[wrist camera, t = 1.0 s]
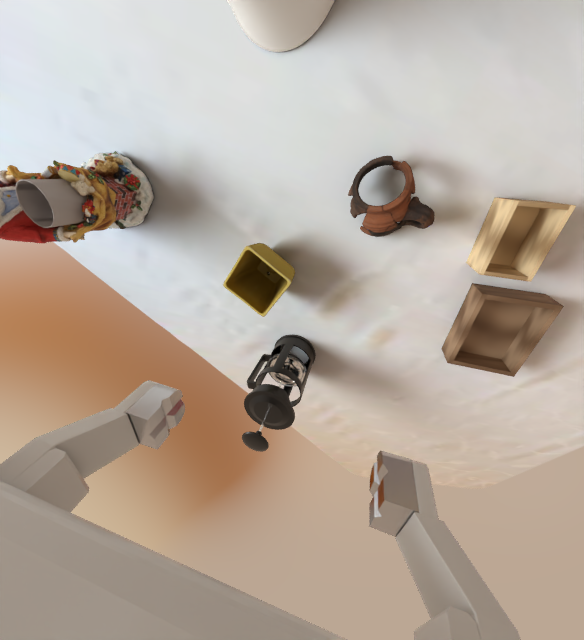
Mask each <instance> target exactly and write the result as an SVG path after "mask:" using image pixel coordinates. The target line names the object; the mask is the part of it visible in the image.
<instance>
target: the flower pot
mask: <svg viewBox="0 0 584 640" xmlns="http://www.w3.org/2000/svg"><path fill="white" fill-rule="evenodd" d="M267 272H269V273H270V274H269V275H268V274H267ZM294 274H295V270H294V268H293V267H292V266H291V265H290V264H289V263H287V262H286V261H285V260H284V259H283V258H281V257H280V256H279V255H278V254H276V253H275V252H274V251H273V250H272V249H271V248H269V247H268V246H267V245H265V244H262V243H258V244H254V245H249V246H246V247H245V248H244V250H243V252H242V253H241V255H240V257H239V258H238V260H237V262H236V264H235V265H234V267H233V268H232V270H231V272H230V273H229V275H228V276H227V278H226V280H225V281H224V284H223V286H224V287H225V288H226V289H228V290H229V291H230V292H231V293H233V294H234V295H236V296H237V297H238V298H240V299H241V300H242V301H243V302H245V303H246V304H247V305H248V306H250V307H251V308H252V309H253V310H254V311H256V312H257V313H258V314H260V315H261V316H263V317H264V316H265V315H266V314H267V313H268V311H269V310H270V309H271V308H272V306H273V305H274V304H275V303H276V302H277V300H278V299H279V298H280V297H281V295H282V294H283V293H284V292H285V291H286V289H287V288H288V287H289V286H290V285H291V282H292V280H293V277H294Z"/></svg>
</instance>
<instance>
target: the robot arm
mask: <svg viewBox="0 0 584 640" xmlns="http://www.w3.org/2000/svg"><path fill="white" fill-rule="evenodd" d="M334 1H335V0H227V2H228V3H229V5H230V7H231V9H232V11H233V13H234V16H235V18H236V20H237V22H238V24H239V25H240V27H241V29H242V30H243V32H244V33H245V34H246V35H247V37H248V38H249V39H250V40H251V41H252V42H254V43H255V44H256V45H258V46H259V47H261V48H263V49H265V50H268V51H273V52H283V51H288V50H291V49H294V48H296V47H298V46H300V45H301V44H303V43H304V42H305V41H307V40H308V39H309V38H310V37H311V36H312V35H313V34H314V33H315V32H316V31H317V29H318V28H319V27H320V26H321V24H322V23H323V21H324V20H325V18H326V16H327V15H328V13H329V11H330V9H331V7H332V5H333V3H334ZM182 397H183V395H182V392H181V390H177V389H174V388H171V387H168V386H164V385H162V384H159V383H156V382H152V381H149V380H148V381H146V382H144V383H143V384H141V385H140V386H139V387H138V388H137V389H136V390H135V391H133V392H132V393H131V394H130V395H129V396H128V397H127V398H126V399H124V400H123V401H122V402H121V403H120V404H119V405H117V406H116V407H115V408H114V409H111V408H109V409H107V410H104V411H102V412H99V413H97V414H94V415H92V416H89V417H87V418H84V419H82V420H79V421H77V422H74V423H72V424H69V425H67V426H64V427H62V428H59V429H57V430H54V431H52V432H49V433H47V434H44V435H41V436H39V437H36V438H34V439H33V440H32V441H31V442H29V443H28V444H26V445H25V446H24V447H23V448H21V449H20V450H19V451H17V452H16V453H15V454H14V455H12V456H11V457H9V458H8V459H7V460H6V461H4V462H3V463H2V464H0V640H347V639H345V638H342V637H340V636H338V635H336V634H334V633H332V632H329V631H327V630H325V629H323V628H321V627H319V626H316V625H314V624H312V623H310V622H308V621H305V620H303V619H301V618H299V617H297V616H294V615H292V614H290V613H288V612H286V611H284V610H281V609H279V608H277V607H275V606H273V605H271V604H268V603H266V602H264V601H262V600H260V599H258V598H255V597H253V596H251V595H249V594H246V593H244V592H242V591H240V590H238V589H236V588H234V587H231V586H229V585H227V584H225V583H223V582H220V581H218V580H216V579H214V578H212V577H209V576H207V575H205V574H203V573H201V572H198V571H196V570H194V569H192V568H190V567H188V566H185V565H183V564H181V563H179V562H177V561H175V560H172V559H170V558H168V557H166V556H164V555H162V554H159V553H157V552H155V551H153V550H151V549H148V548H146V547H144V546H142V545H140V544H138V543H135V542H133V541H131V540H129V539H127V538H124V537H122V536H120V535H118V534H116V533H113V532H111V531H109V530H107V529H105V528H103V527H101V526H98V525H96V524H94V523H92V522H90V521H87V520H85V519H83V518H81V517H79V516H77V515H74V514H72V513H70V512H71V511H72V510H73V509H74V508H75V507H76V506H77V504H78V503H79V502H80V501H81V500H82V499H83V498H84V497H85V496H86V494H87V493H88V492H89V487H88V485H87V484H86V482H85V481H84V478H86V477H87V476H89V475H90V474H92V473H94V472H95V471H97V470H99V469H100V468H102V467H104V466H105V465H107V464H109V463H110V462H112V461H113V460H115V459H117V458H118V457H120V456H122V455H123V454H125V453H126V452H128V451H130V450H132V449H133V448H135V447H136V446H138V445H139V444H142V445H146V446H148V447H151V448H155V449H158V448H159V447H160V446H161V445H162V443H163V442H164V441H165V440H166V438H167V437H168V436H169V432H170V429H171V428H173V427H175V426H177V425H178V423H179V422H180V421H181V419H182V417H183V415H184V412H185V405H184V403H183V402H182V400H181V398H182ZM370 492H371V494H372V496H373V498H372V500H371V502H370V527H372V528H374V529H377V530H380V531H382V532H385V533H387V534H390V535H392V536H395V537H396V538H395V539H396V541H397V543H398V545H399V548H400V550H401V552H402V554H403V557H404V559H405V561H406V563H407V566H408V568H409V570H410V572H411V575H412V576H413V579H414V581H415V584H416V586H417V588H418V591H419V593H420V595H421V597H422V599H423V602H424V604H425V606H426V609H427V611H428V613H429V615H430V618H431V620H429V621H428V622H426V623H425V624H423V625H421V626H420V627H418V628H417V629H416V630H415V632H414V640H520V637H519V634H518V631H517V629H516V628H515V627H514V625H513V624H512V622H511V621H510V619H509V618H508V616H507V615H506V613H505V612H504V610H503V609H502V607H501V606H500V605H499V603H498V601H497V600H496V599H495V597H494V596H493V594H492V592H491V591H490V590H489V588H488V587H487V585H486V584H485V582H484V581H483V580H482V578H481V576H480V575H479V573H478V572H477V570H476V569H475V567H474V566H473V564H472V563H471V561H470V560H469V558H468V557H467V555H466V554H465V552H464V551H463V549H462V548H461V547H460V545H459V543H458V542H457V541H456V539H455V538H454V536H453V535H452V533H451V532H450V530H449V529H448V527H447V526H446V524H445V523H444V522H443V521H441V520H439V519H438V514H437V509H436V504H435V499H434V494H433V489H432V484H431V479H430V474H429V469H428V467H427V465H426V464H424V463H421V462H417V461H413V460H410V459H408V458H405V457H401V456H398V455H394V454H391V453H387V452H384V451H380V452H379V453H378V455H377V462H376V463H374V465H373V467H372V471H371V475H370Z"/></svg>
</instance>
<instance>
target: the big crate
mask: <svg viewBox="0 0 584 640" xmlns="http://www.w3.org/2000/svg"><path fill="white" fill-rule="evenodd" d="M563 307H564V306H563V305H561V304H560V303H558V302H556V301H555V300H553V299H552V298H550V297H549V296H547V295H546V294H541V293H534V292H527V291H520V290H513V289H507V288H500V287H493V286H486V285H479V284H473V283H472V285H471V287H470V289H469V292H468V294H467V296H466V298H465V300H464V302H463V304H462V307H461V309H460V311H459V313H458V315H457V317H456V319H455V321H454V324H453V326H452V328H451V330H450V332H449V334H448V336H447V338H446V341H445V343H444V345H443V347H442V351H443V353H444V355H445V358H446V360H447V363H451V364H456V365H461V366H465V367H470V368H475V369H480V370H484V371H489V372H494V373H499V374H504V375H508V376H513V377H514V376H515V374H516V373H517V371H518V370H519V369H520V367H521V366H522V364H523V363H524V362H525V360H526V359H527V357H528V356H529V355H530V353H531V352H532V350H533V349H534V347H535V346H536V345H537V343H538V342H539V340H540V339H541V338H542V336H543V335H544V333H545V332H546V331H547V329H548V328H549V326H550V325H551V324H552V322H553V321H554V319H555V318H556V316H557V315H558V314H559V312H560V311H561V309H562V308H563Z"/></svg>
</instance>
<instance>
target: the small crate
mask: <svg viewBox="0 0 584 640" xmlns="http://www.w3.org/2000/svg"><path fill="white" fill-rule="evenodd" d="M575 207H576V206H575V205H568V204H560V203H552V202H543V201H531V200H519V199H507V198H494V200H493V203H492V205H491V207H490V209H489V212H488V214H487V216H486V219H485V221H484V223H483V226H482V228H481V230H480V232H479V235H478V237H477V239H476V242H475V244H474V246H473V248H472V251H471V253H470V255H469V258H468V260H467V262H466V263H467V264H468V265H469V266H470V267H472V268H473V269H474V270H475V271H476V272H477V273H478V274H480V275H488V276H495V277H502V278H509V279H516V280H523V281H531V280H532V279H533V277H534V275H535V274H536V272H537V270H538V269H539V267H540V265H541V264H542V262H543V260H544V259H545V257H546V255H547V254H548V252H549V250H550V249H551V247H552V245H553V244H554V242H555V240H556V239H557V237H558V235H559V234H560V232H561V230H562V229H563V227H564V225H565V223H566V222H567V220H568V218H569V217H570V215H571V213H572V212H573V210H574V208H575Z"/></svg>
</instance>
